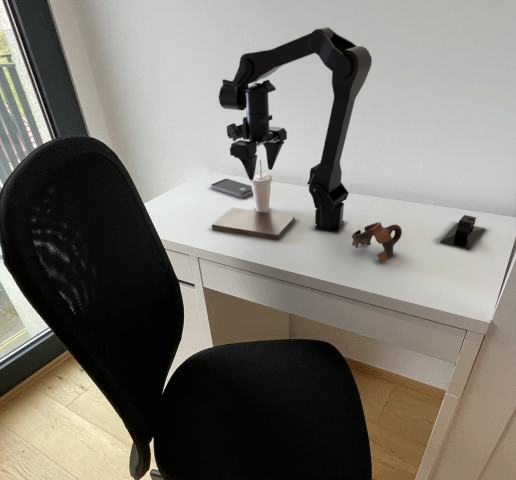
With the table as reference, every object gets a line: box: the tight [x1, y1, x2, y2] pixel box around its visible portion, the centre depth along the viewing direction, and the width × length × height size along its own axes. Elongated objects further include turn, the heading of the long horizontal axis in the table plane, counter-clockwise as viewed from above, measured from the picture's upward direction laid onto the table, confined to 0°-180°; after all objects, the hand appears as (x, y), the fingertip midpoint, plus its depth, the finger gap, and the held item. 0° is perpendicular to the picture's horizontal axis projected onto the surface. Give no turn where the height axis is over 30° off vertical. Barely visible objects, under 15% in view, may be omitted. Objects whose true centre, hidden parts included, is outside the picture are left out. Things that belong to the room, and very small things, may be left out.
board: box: [211, 207, 296, 241], centre depth 113 cm, size 20×12×2 cm, turn 65°
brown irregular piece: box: [351, 222, 403, 264], centre depth 97 cm, size 12×10×8 cm
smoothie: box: [249, 159, 273, 213], centre depth 116 cm, size 6×6×14 cm
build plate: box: [439, 214, 486, 251], centre depth 100 cm, size 12×7×5 cm, turn 142°
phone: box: [210, 178, 253, 199], centre depth 134 cm, size 8×1×16 cm
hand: (261, 174), depth 113 cm, fingers open, 9 cm apart
